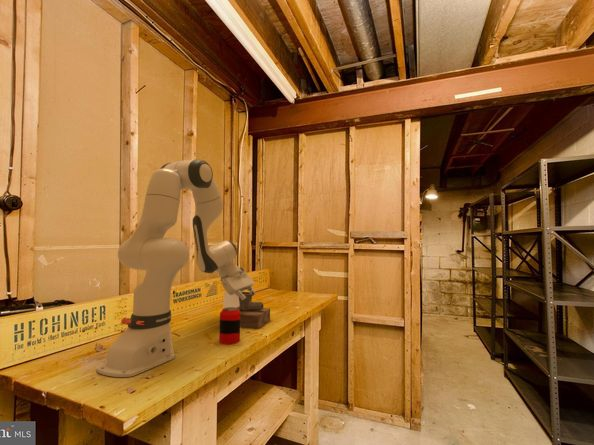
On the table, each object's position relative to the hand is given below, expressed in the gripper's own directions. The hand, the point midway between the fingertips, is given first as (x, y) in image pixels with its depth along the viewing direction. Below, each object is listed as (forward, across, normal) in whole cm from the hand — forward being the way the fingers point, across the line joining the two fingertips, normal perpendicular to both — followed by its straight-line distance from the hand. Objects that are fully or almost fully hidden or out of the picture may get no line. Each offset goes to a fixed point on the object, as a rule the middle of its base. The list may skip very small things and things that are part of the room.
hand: (249, 296), depth 134 cm
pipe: (+4, +1, +5) cm, 7 cm away
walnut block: (+8, 0, +9) cm, 12 cm away
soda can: (+11, -23, +6) cm, 26 cm away
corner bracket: (-7, +26, +24) cm, 36 cm away
